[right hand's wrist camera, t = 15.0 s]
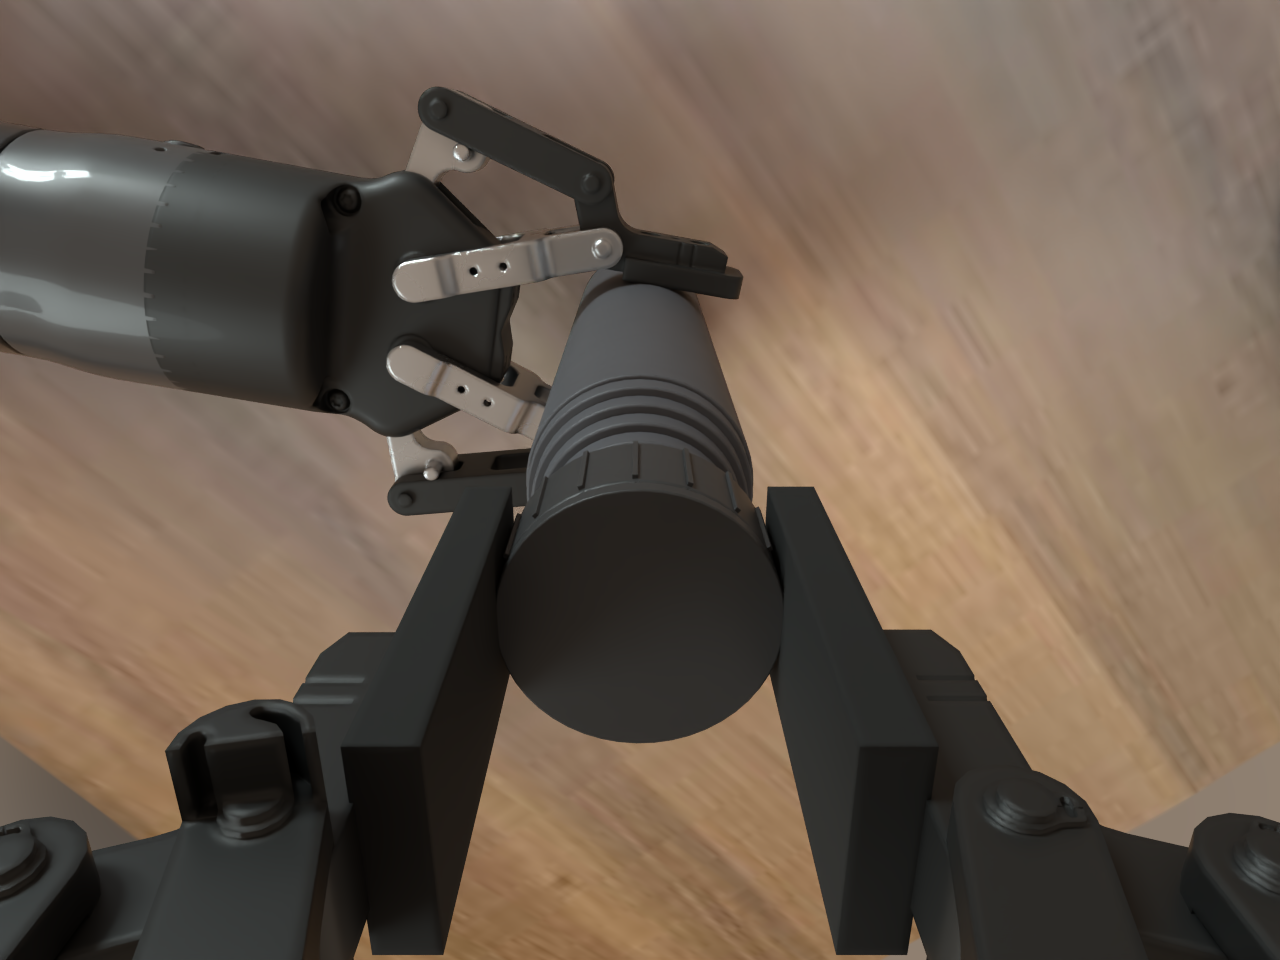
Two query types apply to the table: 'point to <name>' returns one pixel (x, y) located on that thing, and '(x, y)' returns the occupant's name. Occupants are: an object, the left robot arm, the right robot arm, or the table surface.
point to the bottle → (638, 382)
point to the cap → (639, 595)
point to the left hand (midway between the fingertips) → (718, 362)
